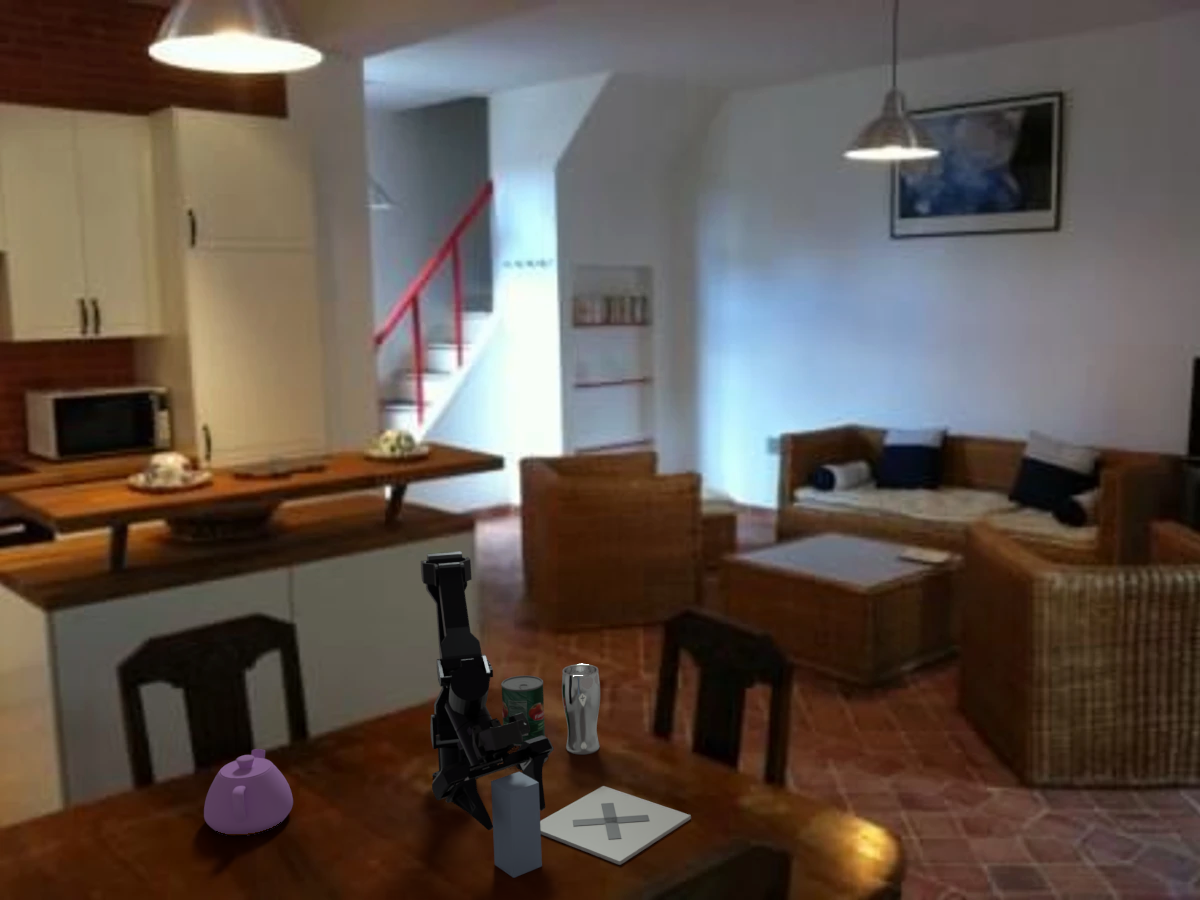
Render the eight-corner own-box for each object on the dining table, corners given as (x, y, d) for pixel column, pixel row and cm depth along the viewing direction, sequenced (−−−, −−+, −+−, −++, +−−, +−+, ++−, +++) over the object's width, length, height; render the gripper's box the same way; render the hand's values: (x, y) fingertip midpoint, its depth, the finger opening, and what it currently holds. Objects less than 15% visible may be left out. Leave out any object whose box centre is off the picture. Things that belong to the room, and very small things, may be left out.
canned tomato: (500, 732, 215) (498, 677, 213) (540, 728, 217) (538, 673, 215) (507, 748, 207) (504, 691, 206) (548, 743, 209) (546, 687, 208)
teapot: (302, 787, 194) (298, 728, 192) (285, 843, 174) (280, 778, 172) (219, 794, 192) (215, 734, 190) (193, 851, 172) (187, 785, 171)
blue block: (494, 864, 166) (490, 781, 164) (522, 853, 169) (519, 771, 167) (513, 877, 162) (510, 792, 160) (541, 866, 165) (538, 782, 163)
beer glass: (597, 756, 203) (595, 677, 200) (560, 754, 204) (557, 675, 202) (605, 741, 209) (602, 664, 207) (568, 739, 211) (566, 662, 209)
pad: (530, 830, 176) (530, 825, 176) (603, 789, 189) (603, 785, 189) (619, 865, 164) (619, 860, 164) (690, 818, 178) (690, 814, 178)
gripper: (437, 715, 160) (482, 815, 153) (544, 684, 171) (590, 776, 164) (413, 751, 167) (455, 848, 160) (517, 719, 178) (560, 808, 171)
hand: (517, 818), depth 164 cm, fingers open, 9 cm apart
